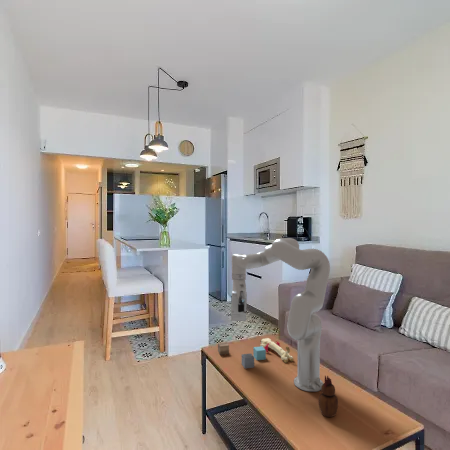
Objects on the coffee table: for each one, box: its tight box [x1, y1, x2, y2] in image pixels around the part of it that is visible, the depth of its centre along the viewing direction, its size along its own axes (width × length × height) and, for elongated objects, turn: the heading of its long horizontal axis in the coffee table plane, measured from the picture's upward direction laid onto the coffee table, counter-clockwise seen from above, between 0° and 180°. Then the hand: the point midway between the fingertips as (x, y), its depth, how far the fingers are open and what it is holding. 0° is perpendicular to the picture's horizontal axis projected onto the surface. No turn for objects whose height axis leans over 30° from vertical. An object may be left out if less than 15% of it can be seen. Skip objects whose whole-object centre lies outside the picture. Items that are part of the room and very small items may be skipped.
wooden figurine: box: [318, 375, 339, 418], centre depth 114 cm, size 7×6×15 cm
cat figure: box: [259, 337, 295, 364], centre depth 169 cm, size 10×9×25 cm
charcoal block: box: [241, 353, 255, 369], centre depth 154 cm, size 5×5×5 cm
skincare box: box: [230, 290, 248, 322], centre depth 165 cm, size 8×6×15 cm
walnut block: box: [217, 341, 230, 356], centre depth 169 cm, size 5×5×5 cm
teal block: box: [252, 345, 267, 361], centre depth 163 cm, size 5×5×5 cm
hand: (238, 309), depth 165 cm, fingers closed on skincare box, 7 cm apart
